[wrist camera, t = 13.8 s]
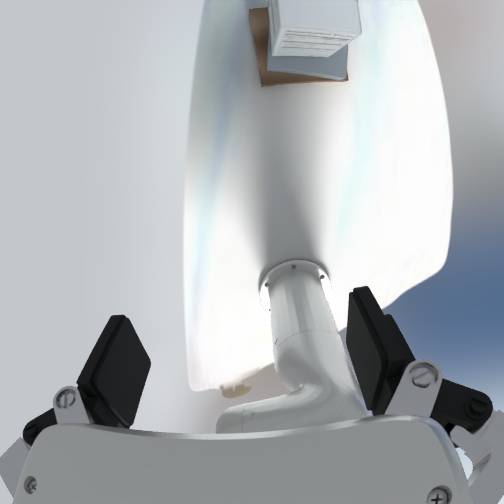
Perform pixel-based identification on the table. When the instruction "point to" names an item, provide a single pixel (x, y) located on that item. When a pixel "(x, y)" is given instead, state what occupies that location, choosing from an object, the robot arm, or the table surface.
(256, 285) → the table surface
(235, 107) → the table surface
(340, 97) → the table surface
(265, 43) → the walnut base slab
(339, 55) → the slate grey slab
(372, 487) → the robot arm
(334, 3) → the supplement box
